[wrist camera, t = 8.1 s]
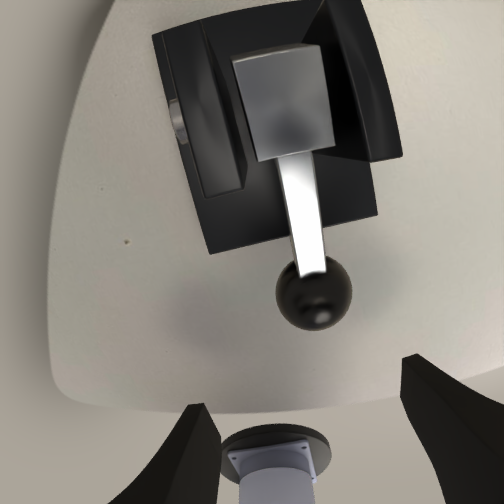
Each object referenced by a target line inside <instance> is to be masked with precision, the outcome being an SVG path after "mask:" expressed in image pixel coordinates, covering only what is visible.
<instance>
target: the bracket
mask: <svg viewBox="0 0 504 504" xmlns="http://www.w3.org/2000/svg"><path fill="white" fill-rule="evenodd" d="M152 41H153V45H154V49H155V54H156V58H157V62H158V67H159V71H160V75H161V79H162V84H163V88H164V92H165V96H166V100H167V104H168V108H169V112H170V118H171V122H172V125H173V128H174V131H175V135H176V139H177V143H178V146H179V150H180V154H181V158H182V161H183V165H184V169H185V172H186V176H187V179H188V183H189V187H190V190H191V194H192V197H193V201H194V204H195V208H196V211H197V215H198V218H199V222H200V225H201V228H202V232H203V235H204V239H205V242H206V245H207V249H208V252H209V254H215V253H219V252H224V251H228V250H232V249H236V248H240V247H245V246H249V245H253V244H257V243H261V242H266V241H270V240H274V239H278V238H283V237H287V236H289V231H288V226H287V221H286V216H285V211H284V207H283V202H282V197H281V192H280V187H279V183H278V178H277V173H276V169H275V164H274V159H270V160H266V161H261V162H257V161H256V158H255V154H254V151H253V147H252V143H251V140H250V136H249V132H248V128H247V124H246V120H245V116H244V113H243V109H242V105H241V101H240V97H239V93H238V90H237V86H236V82H235V78H234V75H233V71H232V67H231V63H230V60H229V57H230V56H233V55H237V54H241V53H246V52H250V51H255V50H260V49H265V48H270V47H276V46H282V45H288V44H294V43H303V44H314V45H320V47H321V51H322V56H323V61H324V66H325V72H326V78H327V84H328V90H329V96H330V102H331V109H332V116H333V123H334V130H335V138H336V146H332V147H327V148H322V149H317V150H312V154H313V160H314V167H315V174H316V181H317V188H318V195H319V203H320V211H321V219H322V227H323V228H325V227H330V226H334V225H338V224H343V223H347V222H351V221H356V220H360V219H364V218H369V217H373V216H377V215H378V212H377V205H376V198H375V192H374V185H373V179H372V174H371V168H370V163H372V162H378V161H383V160H389V159H395V158H400V157H402V156H403V152H402V146H401V140H400V135H399V130H398V125H397V121H396V116H395V111H394V107H393V103H392V99H391V94H390V90H389V87H388V83H387V79H386V75H385V72H384V68H383V65H382V61H381V58H380V54H379V51H378V48H377V45H376V42H375V39H374V36H373V33H372V30H371V27H370V24H369V21H368V18H367V15H366V13H365V10H364V7H363V5H362V2H361V0H298V1H290V2H282V3H275V4H269V5H263V6H257V7H252V8H246V9H242V10H237V11H232V12H228V13H223V14H219V15H215V16H211V17H207V18H204V19H200V20H197V21H193V22H190V23H186V24H183V25H180V26H177V27H173V28H170V29H167V30H164V31H162V32H159V33H156V34H153V35H152ZM369 162H370V163H369Z"/></svg>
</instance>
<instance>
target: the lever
mask: <svg viewBox="0 0 504 504" xmlns="http://www.w3.org/2000/svg"><path fill="white" fill-rule="evenodd" d="M229 60H230V63H231V67H232V71H233V75H234V78H235V82H236V86H237V90H238V93H239V97H240V101H241V105H242V109H243V113H244V116H245V120H246V124H247V128H248V132H249V136H250V140H251V143H252V147H253V151H254V154H255V158H256V161H257V162H261V161H266V160H270V159H274V164H275V169H276V173H277V178H278V183H279V187H280V192H281V197H282V202H283V207H284V211H285V216H286V221H287V226H288V231H289V236H290V242H291V247H292V252H293V257H294V260H293V261H291V262H290V263H289V264H288V265H287V266H286V267H285V268H284V269H283V271H282V272H281V274H280V276H279V278H278V281H277V285H276V301H277V305H278V307H279V310H280V312H281V313H282V315H283V316H284V317H285V319H286V320H287V321H289V322H290V323H291V324H292V325H294V326H296V327H298V328H300V329H303V330H308V331H319V330H324V329H327V328H329V327H331V326H333V325H335V324H336V323H337V322H339V321H340V320H341V319H342V318H343V316H344V315H345V314H346V312H347V311H348V308H349V306H350V303H351V299H352V285H351V281H350V278H349V276H348V274H347V272H346V270H345V269H344V268H343V267H342V265H341V264H339V263H338V262H337V261H336V260H334V259H332V258H330V257H328V256H326V255H325V245H324V236H323V227H322V219H321V211H320V203H319V195H318V188H317V181H316V174H315V167H314V160H313V154H312V150H317V149H322V148H327V147H332V146H336V138H335V130H334V123H333V116H332V109H331V102H330V96H329V90H328V84H327V78H326V72H325V66H324V61H323V56H322V51H321V47H320V45H314V44H303V43H294V44H288V45H282V46H276V47H270V48H265V49H260V50H255V51H250V52H246V53H241V54H237V55H233V56H230V57H229Z"/></svg>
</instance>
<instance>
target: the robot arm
mask: <svg viewBox="0 0 504 504" xmlns="http://www.w3.org/2000/svg"><path fill="white" fill-rule="evenodd" d="M400 398H401V401H402V403H403V406H404V409H405V411H406V414H407V416H408V419H409V421H410V423H411V424H412V426H413V428H414V430H415V432H416V434H417V436H418V438H419V440H420V441H421V443H422V445H423V447H424V449H425V451H426V453H427V455H428V457H429V458H430V460H431V462H432V464H433V467H434V469H435V471H436V475H437V477H438V480H439V483H440V486H441V489H442V492H443V496H444V499H445V502H446V504H504V405H503V404H501V403H499V402H496V401H494V400H492V399H489V398H487V397H485V396H483V395H481V394H479V393H478V392H476V391H474V390H472V389H470V388H468V387H467V386H465V385H463V384H462V383H460V382H459V381H457V380H456V379H454V378H452V377H451V376H449V375H448V374H446V373H445V372H443V371H442V370H440V369H439V368H438V367H436V366H435V365H433V364H432V363H430V362H429V361H428V360H426V359H425V358H423V357H422V356H420V355H419V354H414V355H411V356H408V357H405V358H402V374H401V391H400ZM228 457H229V459H230V461H231V462H232V464H233V466H234V467H235V469H236V471H237V473H238V474H239V476H240V485H239V488H240V489H239V504H315V499H314V492H313V486H312V484H314V483H316V482H317V477H316V473H315V469H314V464H313V460H312V456H311V451H310V447H309V443H308V440H305V439H304V440H298V441H293V442H288V443H282V444H276V445H270V446H264V447H257V448H249V449H241V450H233V451H229V452H228ZM220 469H221V436H220V434H219V432H218V430H217V428H216V426H215V424H214V422H213V420H212V418H211V416H210V414H209V412H208V410H207V408H206V406H205V404H204V403H199V404H190V405H188V406H187V407H186V409H185V410H184V412H183V413H182V415H181V417H180V418H179V420H178V421H177V423H176V425H175V426H174V428H173V430H172V431H171V433H170V434H169V436H168V437H167V439H166V440H165V441H164V443H163V444H162V446H161V447H160V449H159V450H158V452H157V453H156V454H155V456H154V457H153V458H152V459H151V461H150V462H149V463H148V465H147V466H146V467H145V468H144V469H143V471H142V472H141V473H140V474H139V475H138V476H137V477H136V478H135V480H134V481H133V482H132V483H131V484H130V485H129V486H128V487H127V488H126V489H124V490H123V491H122V492H121V493H120V494H119V495H118V496H117V497H115V498H114V499H113V500H112V501H111V502H109V503H108V504H216V503H217V495H218V486H219V478H220Z"/></svg>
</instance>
